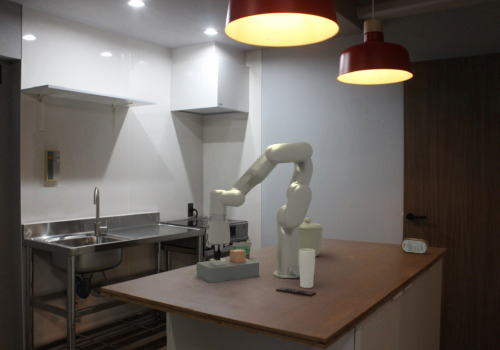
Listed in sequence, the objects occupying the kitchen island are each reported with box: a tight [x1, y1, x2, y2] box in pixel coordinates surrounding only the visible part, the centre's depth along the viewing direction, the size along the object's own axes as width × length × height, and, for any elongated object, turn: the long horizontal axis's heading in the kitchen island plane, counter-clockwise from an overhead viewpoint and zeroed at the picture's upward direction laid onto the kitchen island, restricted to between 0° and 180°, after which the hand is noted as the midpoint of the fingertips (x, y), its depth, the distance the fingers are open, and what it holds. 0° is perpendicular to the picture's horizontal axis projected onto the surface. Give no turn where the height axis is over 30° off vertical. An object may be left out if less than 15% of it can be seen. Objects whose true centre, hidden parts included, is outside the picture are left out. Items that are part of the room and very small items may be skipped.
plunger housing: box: [196, 258, 260, 284], centre depth 199 cm, size 14×24×6 cm, turn 121°
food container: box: [232, 239, 252, 259], centre depth 233 cm, size 12×6×10 cm, turn 143°
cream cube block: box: [209, 257, 226, 266], centre depth 196 cm, size 5×5×6 cm
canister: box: [298, 217, 325, 257], centre depth 247 cm, size 18×18×21 cm
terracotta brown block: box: [229, 249, 246, 263], centre depth 201 cm, size 5×5×6 cm
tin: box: [400, 237, 430, 255], centre depth 257 cm, size 15×3×8 cm, turn 58°
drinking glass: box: [298, 249, 316, 289], centre depth 181 cm, size 7×7×15 cm
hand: (217, 259), depth 196 cm, fingers closed
